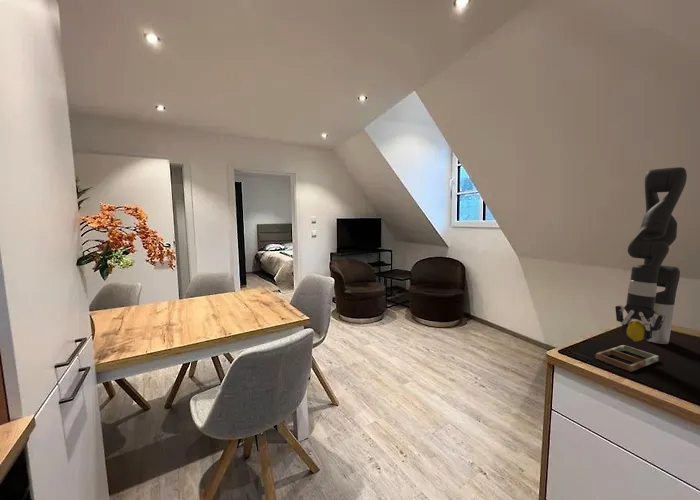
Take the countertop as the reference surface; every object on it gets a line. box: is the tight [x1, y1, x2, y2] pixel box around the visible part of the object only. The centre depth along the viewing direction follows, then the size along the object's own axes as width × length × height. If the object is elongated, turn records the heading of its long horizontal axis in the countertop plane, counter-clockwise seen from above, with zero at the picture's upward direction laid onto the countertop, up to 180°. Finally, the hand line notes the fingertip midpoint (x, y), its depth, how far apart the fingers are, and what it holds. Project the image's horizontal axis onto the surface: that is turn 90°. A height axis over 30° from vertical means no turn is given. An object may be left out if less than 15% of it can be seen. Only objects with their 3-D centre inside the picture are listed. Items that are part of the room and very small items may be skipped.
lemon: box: [626, 320, 646, 342], centre depth 113 cm, size 6×6×8 cm
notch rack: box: [595, 344, 660, 373], centre depth 112 cm, size 20×11×2 cm, turn 115°
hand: (635, 336), depth 113 cm, fingers closed on lemon, 5 cm apart
